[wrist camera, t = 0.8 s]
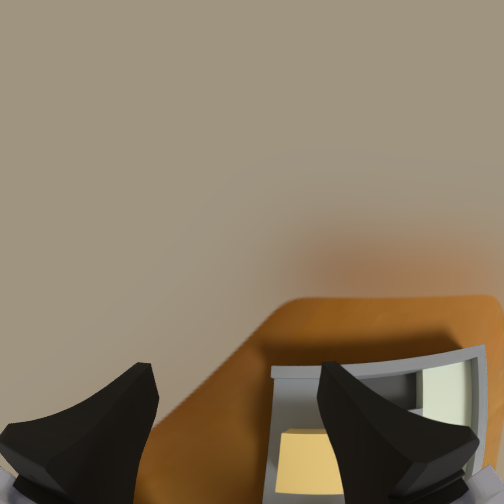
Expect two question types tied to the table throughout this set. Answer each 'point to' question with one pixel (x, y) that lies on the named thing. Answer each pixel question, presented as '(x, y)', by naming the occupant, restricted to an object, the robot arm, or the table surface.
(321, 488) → the block
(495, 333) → the table surface
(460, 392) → the box
